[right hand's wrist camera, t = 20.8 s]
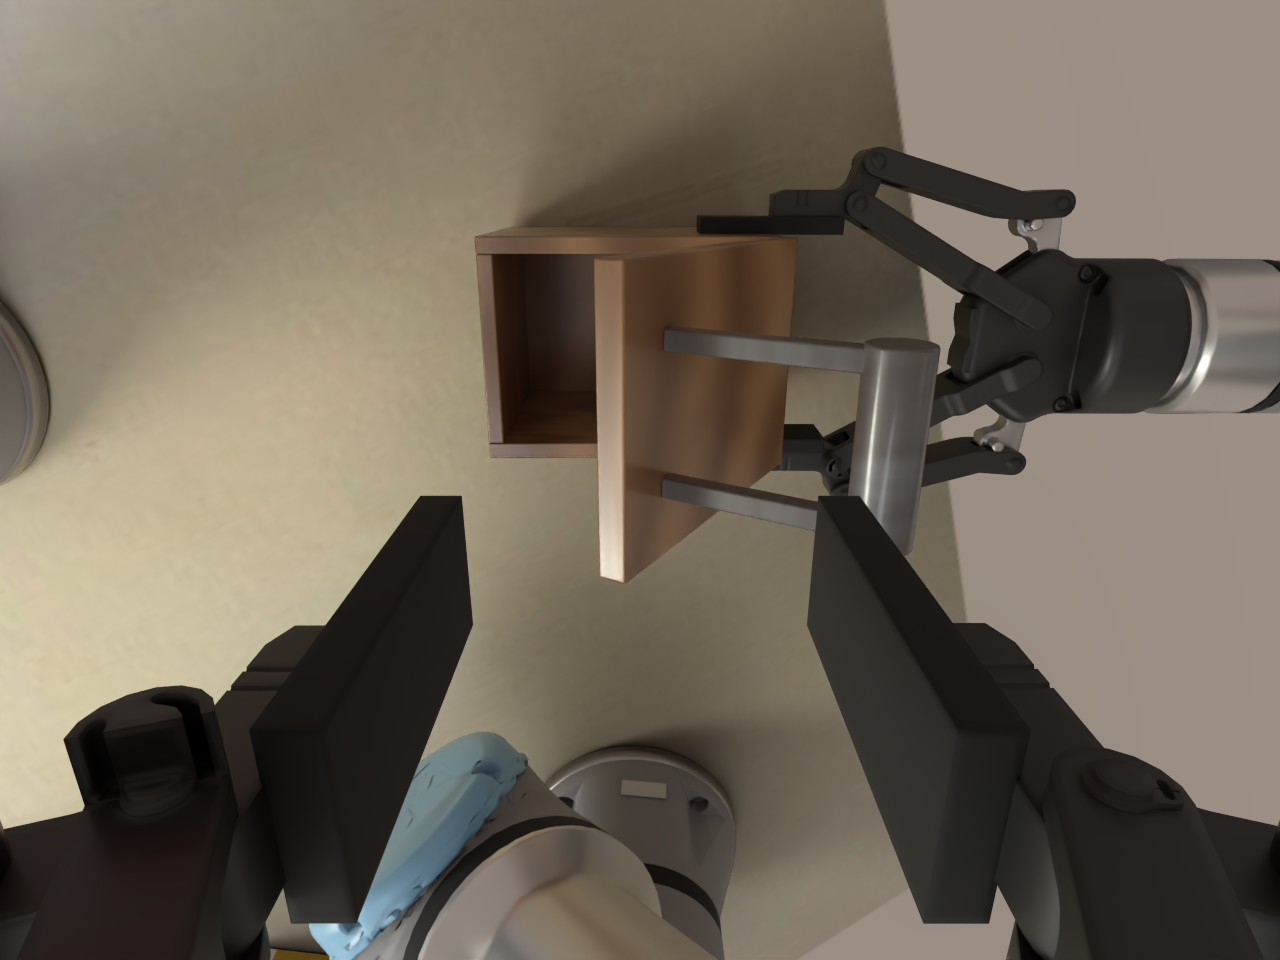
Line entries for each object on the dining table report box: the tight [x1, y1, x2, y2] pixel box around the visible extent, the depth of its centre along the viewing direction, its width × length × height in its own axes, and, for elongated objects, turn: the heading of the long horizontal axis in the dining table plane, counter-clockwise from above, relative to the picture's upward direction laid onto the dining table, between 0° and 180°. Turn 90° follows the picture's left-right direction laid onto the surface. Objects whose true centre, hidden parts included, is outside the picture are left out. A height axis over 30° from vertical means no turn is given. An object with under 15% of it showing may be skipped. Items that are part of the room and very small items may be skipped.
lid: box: [594, 237, 940, 583], centre depth 26 cm, size 14×10×9 cm
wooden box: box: [475, 227, 781, 458], centre depth 39 cm, size 13×10×11 cm
